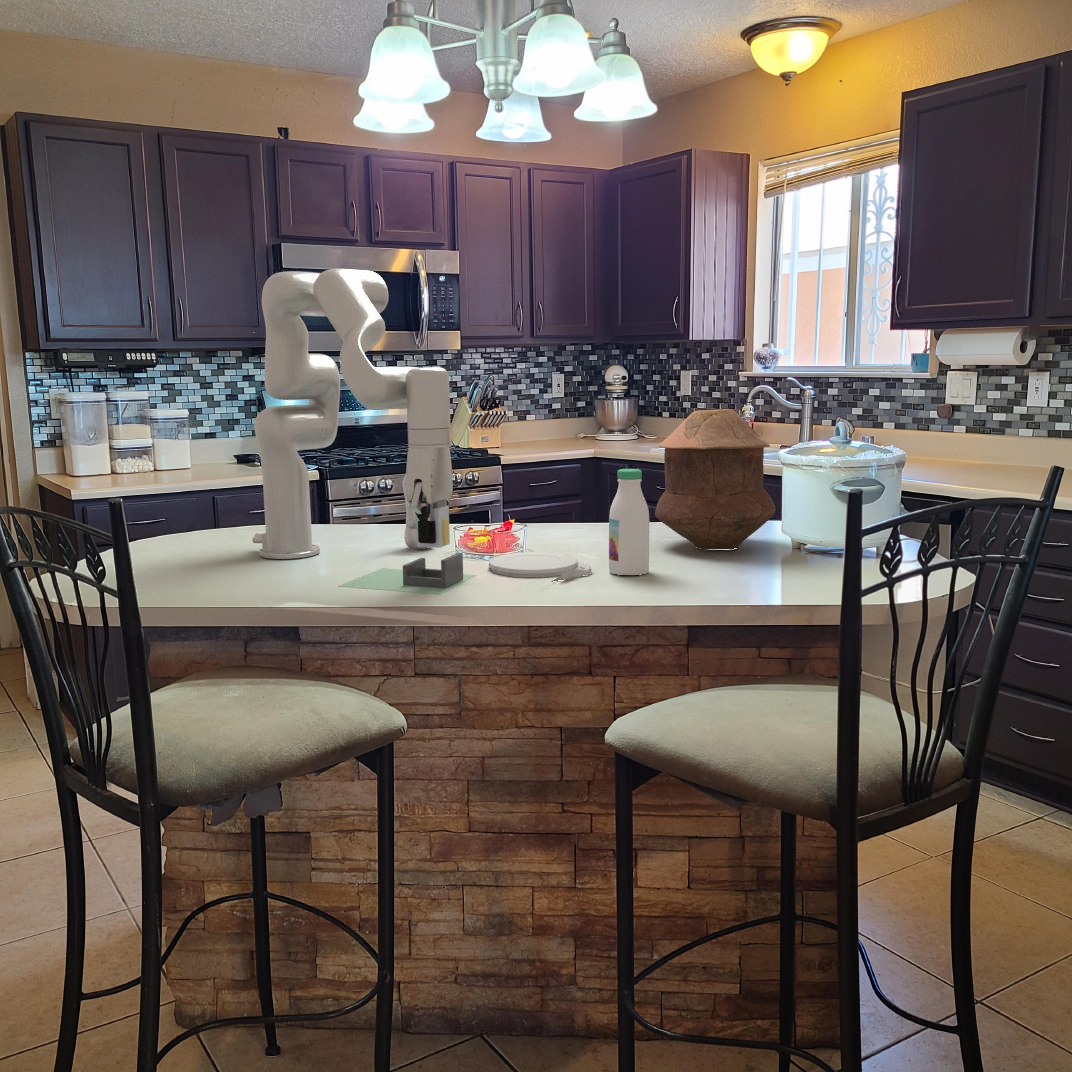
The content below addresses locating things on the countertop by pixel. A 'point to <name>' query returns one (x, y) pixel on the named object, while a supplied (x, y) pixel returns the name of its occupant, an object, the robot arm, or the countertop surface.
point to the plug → (438, 525)
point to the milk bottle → (629, 526)
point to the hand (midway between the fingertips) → (433, 539)
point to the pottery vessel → (714, 480)
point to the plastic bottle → (410, 523)
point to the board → (395, 582)
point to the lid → (539, 565)
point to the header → (434, 573)
